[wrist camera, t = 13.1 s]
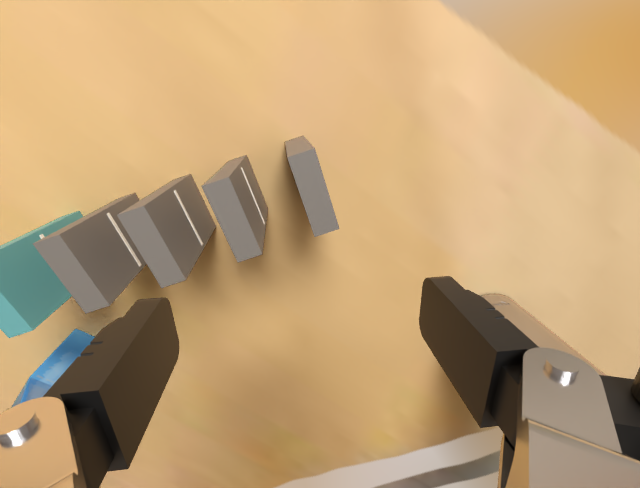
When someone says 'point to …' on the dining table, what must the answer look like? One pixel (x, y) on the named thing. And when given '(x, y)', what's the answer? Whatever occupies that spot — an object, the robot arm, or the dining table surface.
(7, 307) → the end tile
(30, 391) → the perfume bottle
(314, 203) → the tile
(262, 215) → the tile
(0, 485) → the robot arm
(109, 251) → the tile
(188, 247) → the tile
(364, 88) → the dining table surface
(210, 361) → the dining table surface
